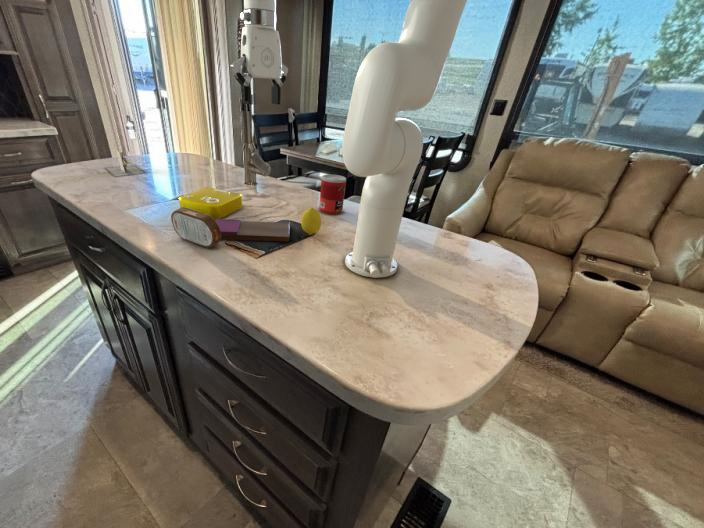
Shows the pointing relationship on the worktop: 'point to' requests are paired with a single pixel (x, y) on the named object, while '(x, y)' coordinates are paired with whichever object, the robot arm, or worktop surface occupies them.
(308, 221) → the lemon
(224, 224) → the plum cloth
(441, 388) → the worktop surface
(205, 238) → the tin
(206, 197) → the element tile
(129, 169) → the architectural model
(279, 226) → the serving board
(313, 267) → the worktop surface
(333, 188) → the canned food
